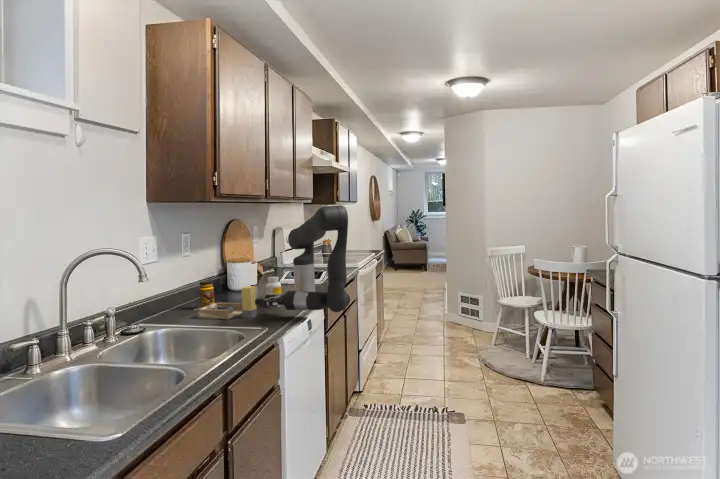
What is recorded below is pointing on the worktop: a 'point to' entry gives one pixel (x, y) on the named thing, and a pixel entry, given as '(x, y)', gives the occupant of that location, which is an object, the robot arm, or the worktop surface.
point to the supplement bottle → (273, 287)
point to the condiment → (206, 294)
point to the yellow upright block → (249, 302)
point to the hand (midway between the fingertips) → (260, 299)
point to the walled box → (220, 311)
